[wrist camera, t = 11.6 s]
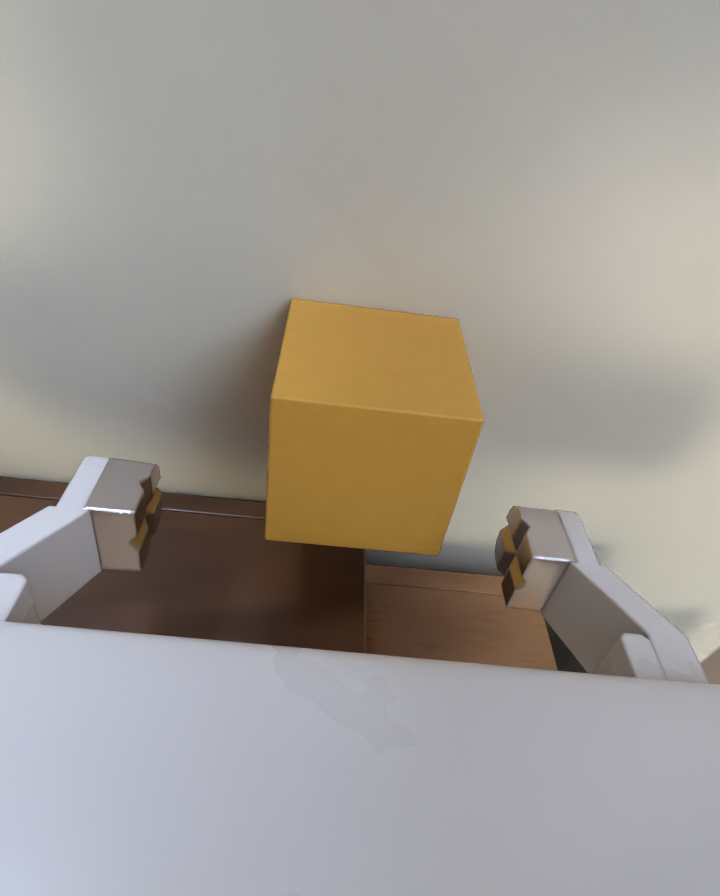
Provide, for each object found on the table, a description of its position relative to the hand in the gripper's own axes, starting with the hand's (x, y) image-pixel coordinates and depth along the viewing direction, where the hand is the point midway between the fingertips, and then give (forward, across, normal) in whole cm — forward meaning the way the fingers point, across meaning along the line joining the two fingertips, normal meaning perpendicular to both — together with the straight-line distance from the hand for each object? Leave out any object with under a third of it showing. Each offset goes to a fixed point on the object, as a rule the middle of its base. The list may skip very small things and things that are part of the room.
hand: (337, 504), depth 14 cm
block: (+4, 0, -1) cm, 4 cm away
